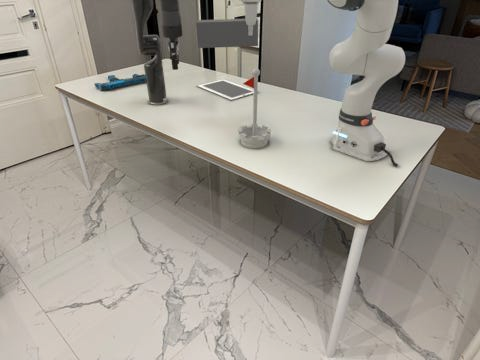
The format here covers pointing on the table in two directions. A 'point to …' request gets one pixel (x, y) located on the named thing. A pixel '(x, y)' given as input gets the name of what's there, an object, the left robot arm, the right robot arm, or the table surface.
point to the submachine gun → (120, 81)
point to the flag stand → (254, 121)
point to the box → (225, 33)
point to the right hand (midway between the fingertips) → (250, 33)
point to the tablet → (227, 89)
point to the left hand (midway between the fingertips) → (175, 66)
